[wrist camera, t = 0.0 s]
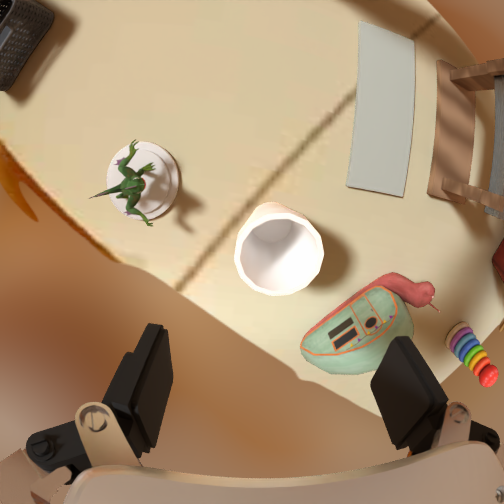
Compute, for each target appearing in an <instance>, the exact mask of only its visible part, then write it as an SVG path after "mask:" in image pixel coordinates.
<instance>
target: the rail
mask: <svg viewBox="0 0 504 504" xmlns="http://www.w3.org/2000/svg"><path fill="white" fill-rule="evenodd" d="M494 86H495V139H494V152H493V162H492V170H491V177H490V184H489V190H488V191H489V192H492V193H495V194H498V195H500V196H503V197H504V75H495V76H494ZM484 212H486V213H488V214H490V215H492V216H495V217H497V218H499V219H502V220H504V208H503V212H500V211H498V210H495V209H493V208H491V207H488V206H485V210H484Z"/></svg>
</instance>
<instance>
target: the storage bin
mask: <svg viewBox="0 0 504 504" xmlns="http://www.w3.org/2000/svg"><path fill="white" fill-rule="evenodd" d="M1 5H2V6H1ZM4 5H5V6H4ZM3 6H4V7H3ZM0 10H1V11H0V14H1V15H0V91H6V90H8V89H9V88H10V87H11V85H12V84H13V82H14V81H15V79H16V77H17V75H18V74H19V72H20V70H21V68H22V67H23V65H24V64H25V62H26V60H27V59H28V57H29V56H30V54H31V53H32V51H33V50H34V48H35V47H36V45H37V44H38V43H39V41H40V40H41V38H42V37H43V36H44V34H45V33H46V32H47V30H48V29H49V27H50V26H51V24H52V22H53V18H54V14H53V12H51V11H50V10H49V9H47V8H46V7H44V6H43V5H41V4H40V3H38V2H37V1H35V0H0ZM3 10H4V11H3Z"/></svg>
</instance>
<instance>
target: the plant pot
mask: <svg viewBox="0 0 504 504" xmlns="http://www.w3.org/2000/svg"><path fill="white" fill-rule="evenodd" d="M492 263H493V264H494V266H495V268H496V270H497V271H498V273H499V275H500V277H501V279H502V281H503V282H504V239H503V241H502V242H501V244H500V246H499V248H498V249H497V251H496V253H495V254H494V256H493V258H492Z"/></svg>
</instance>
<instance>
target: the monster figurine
mask: <svg viewBox="0 0 504 504" xmlns="http://www.w3.org/2000/svg"><path fill="white" fill-rule="evenodd" d="M134 141H135V140H134ZM134 141H133V142H134ZM133 142H132V143H131V144H129V145H127V146H125V147H124V148H122V149H121V150H120V151H119V152H118V153H117V154H116V155H115V156H114V158H113V159H112V161H111V163H110V165H109V168H108V172H107V190H106V191H104V192H102V193H99V194H97V195H95V196H93V197H98V196H102V195H107V194H109V197H110V199H111V201H112V202H113V204H114V206H115V207H116V208H117V209H118V210H119V211H120V212H121V213H122V214H124V215H126V216H127V217H130V218H132V219H137V220H143V221H145V222H146V224H147V226H152V225H150V224H153V223H148V222H149V220H148V219H152V218H155V217H157V216H159V215H160V214H162V213H163V212H165V211H166V210H167V209H168V208H169V207H170V205H171V204H172V203H173V201H174V199H175V197H176V195H177V192H178V187H179V173H178V169H177V166H176V163H175V161H174V159H173V158H172V156H171V155H170V154H169V153H168V152H167V151H166V150H165V149H164V148H163V147H161V146H159V145H157V144H154V143H151V142H139V141H138V142H136V143H133ZM91 198H92V197H91Z"/></svg>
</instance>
